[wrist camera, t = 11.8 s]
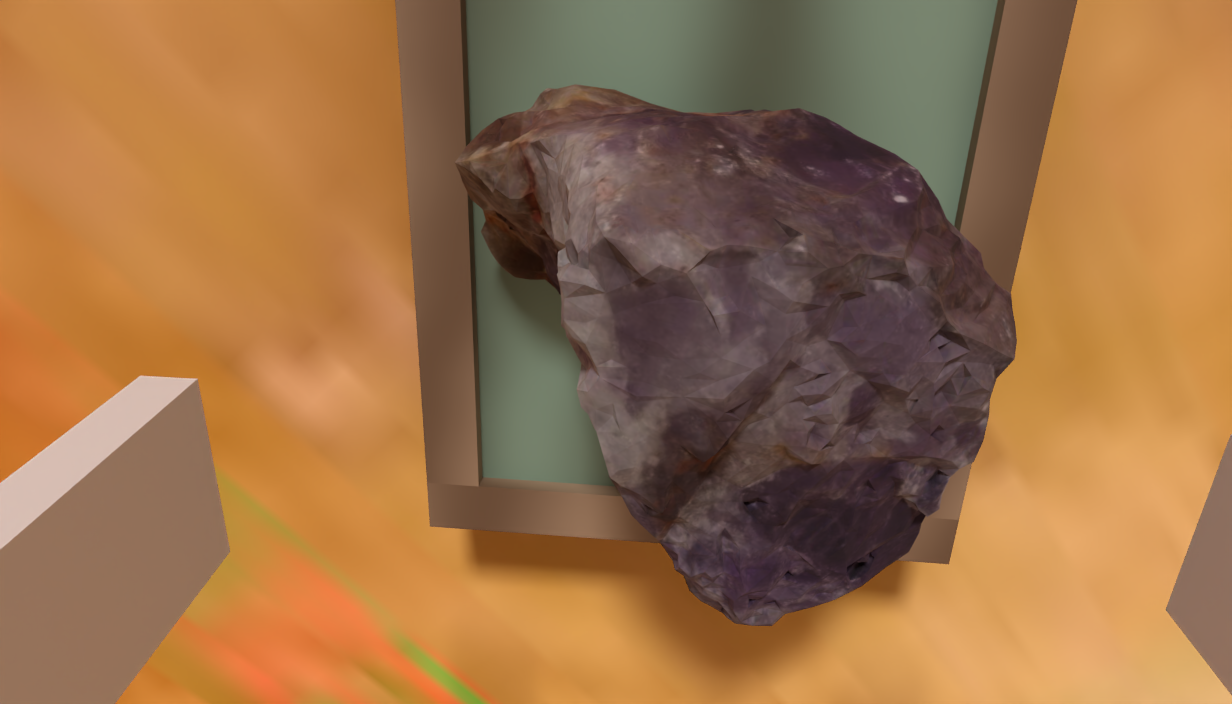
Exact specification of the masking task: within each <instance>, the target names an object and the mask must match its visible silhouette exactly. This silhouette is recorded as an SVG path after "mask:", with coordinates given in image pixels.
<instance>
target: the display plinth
mask: <svg viewBox="0 0 1232 704" xmlns="http://www.w3.org/2000/svg"><path fill="white" fill-rule="evenodd" d="M395 2H396V18H397V33H398V48H399V63H400V78H401V93H402V108H403V124H404V139H405V154H406V169H407V184H408V199H409V214H410V230H411V245H412V260H413V275H414V290H415V305H416V320H417V336H418V351H419V366H420V381H421V396H422V411H423V427H424V442H425V457H426V472H427V487H428V502H429V517H430V526H431V527H445V528H459V529H473V530H486V531H500V532H514V533H528V534H541V535H555V536H569V537H583V538H596V539H610V540H624V541H638V542H651V543H660V542H659V541H658V540H657V539H656V538H655V537H654V536H653V535H652V534H650V533H649V532H648V531H647V530H646V529H645V528H644V527H643V526H642V525H641V524H640V523H639V522H638V521H637V520H636V519H635V518H634V517H633V516H632V515H631V514H630V512H629V510H628V508H627V506H626V504H625V502H624V500H623V498H622V496H621V494H620V493H619V491H618V490H617V488H616V487H615V485H614V484H613V482H612V481H611V479H610V478H609V473H608V470H607V466H606V463H605V460H604V457H603V453H602V450H601V446H600V443H599V439H598V436H597V432H596V430H595V429H594V427H593V425H592V422H591V420H590V418H589V415H588V414H587V413H586V412H585V411H584V410H583V409H582V408H581V405H580V401H579V397H578V393H577V385H578V380H579V375H580V370H581V362H580V360H579V358H578V356H577V355H576V353H575V351H574V349H573V347H572V345H571V344H570V342H569V340H568V338H567V336H566V331H565V329H564V328H563V327H562V326H561V306H562V302H561V295H560V294H559V293H558V291H557V289H555V288H554V287H553V286H552V285H551V284H550V283H549V282H547V281H546V280H529V279H522V278H516V277H514V276H512V275H511V274H510V273H508V272H507V271H505V270H504V269H503V267H502V266H501V265H500V264H499V263H498V262H497V261H496V259H495V258H494V256H493V255H492V253H491V252H490V250H489V248H488V246H487V244H486V242H485V239H484V237H483V235H482V233H481V230H482V228H483V225H484V223H485V221H486V219H485V216H484V212H483V209H482V208H481V207H479V206H478V205H477V204H476V203H475V202H474V201H473V200H471V199H470V197H469V195H468V193H467V190H466V188H465V186H464V184H463V182H462V179H461V176H460V173H459V171H458V169H457V166H456V164H455V162H456V160H457V159H458V157H459V156H460V155H461V153H462V152H463V150H464V149H465V148H466V146H467V145H468V144H469V143H470V142H471V141H472V140H473V139H474V138H475V137H476V136H477V135H478V134H479V133H480V132H481V131H482V130H483V129H484V128H486V127H487V126H488V125H490V124H491V123H493V122H494V121H495V120H497V119H498V118H501V117H503V116H506V115H509V114H512V113H515V112H523V111H526V110H528V109H530V108H531V107H532V106H533V104H534V103H535V101H536V100H537V98H538V97H539V95H540V93H542V92H543V91H544V90H545V89H547V88H553V89H559V88H563V87H566V86H570V85H574V84H577V85H584V86H591V87H598V88H605V89H615V90H617V91H620V92H622V93H625V94H628V95H630V96H633V97H635V98H638V99H641V100H643V101H646V102H649V103H651V104H655V105H659V106H662V107H666V108H669V109H673V110H677V111H680V112H702V113H721V112H730V111H740V110H749V109H752V110H754V111H758V110H764V109H765V110H770V111H777V110H787V109H796V108H800V109H803V110H806V111H809V112H812V113H815V114H818V115H820V116H823V117H826V118H828V119H830V120H831V121H833V122H835V123H837V124H839V125H841V126H842V127H844V128H845V129H847V130H849V131H850V132H852V133H853V134H855V135H857V136H859V137H861V138H863V139H865V140H867V141H869V142H871V143H873V144H875V145H878V146H880V147H882V148H884V149H886V150H888V151H890V152H892V153H894V154H896V155H897V156H899V157H900V158H902V159H903V160H905V161H906V162H908V163H909V164H910V165H912V166H913V167H915V168H916V169H918V170H919V172H920V173H921V175H922V176H923V178H924V179H925V181H926V182H927V184H928V185H929V187H930V188H931V190H932V191H933V193H934V194H935V196H936V197H937V198H938V200H939V202H940V204H941V207H942V209H943V211H944V214H945V216H946V218H947V220H948V221H949V222H950V223H951V224H952V225H953V226H954V227H955V228H956V229H957V230H958V231H959V232H960V233H961V234H962V235H963V236H964V237H965V238H966V239H967V240H968V241H969V242H970V243H971V244H972V245H973V246H974V247H975V248H976V249H977V250H978V251H979V252H980V253H981V256H982V261H983V266H984V269H985V270H986V271H987V272H988V274H989V275H990V276H991V277H992V279H993V280H994V281H995V282H996V283H997V284H998V285H1000V286H1001V287H1003V288H1004V289H1005V290H1007V291H1008V292H1010V293H1011V289H1012V284H1013V280H1014V276H1015V271H1016V267H1017V263H1018V258H1019V254H1020V249H1021V245H1022V241H1023V236H1024V232H1025V227H1026V223H1027V219H1028V214H1029V210H1030V205H1031V201H1032V197H1033V192H1034V188H1035V183H1036V179H1037V175H1038V170H1039V166H1040V162H1041V157H1042V153H1043V148H1044V144H1045V140H1046V135H1047V131H1048V126H1049V122H1050V118H1051V113H1052V109H1053V104H1054V100H1055V96H1056V91H1057V87H1058V83H1059V78H1060V74H1061V69H1062V65H1063V61H1064V56H1065V52H1066V47H1067V43H1068V39H1069V34H1070V30H1071V25H1072V21H1073V17H1074V12H1075V8H1076V4H1077V0H395ZM971 464H972V463H970V464H968V465H966V466H964V467H962V468H960V469H959V470H958V471H957V472H955V473H954V474H953V475H952V476H951V477H950V479H949V481H948V483H947V486H946V488H945V490H944V492H943V494H942V498H941V503H940V509H939V510H937V511H936V512H934V513H933V514H931V515H930V516H928V517H927V516H925V518H924V520H923V522H922V524H921V528H920V532H919V534H918V536H917V538H916V540H915V542H914V544H913V545H912V547H911V549H910V551H909V552H908V553H907V554H905V555H904V556H902V557H901V558H899V559H898V560H899V561H913V562H927V563H940V564H949V561H950V557H951V552H952V548H953V543H954V539H955V535H956V530H957V526H958V521H959V517H960V513H961V508H962V504H963V500H964V495H965V491H966V486H967V482H968V478H969V473H970V469H971Z"/></svg>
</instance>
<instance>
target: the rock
mask: <svg viewBox="0 0 1232 704" xmlns="http://www.w3.org/2000/svg"><path fill="white" fill-rule="evenodd" d="M455 164H456V166H457V169H458V171H459V173H460V176H461V179H462V182H463V184H464V186H465V188H466V190H467V193H468V195H469V197H470V199H471V200H473V201H474V202H475V203H476V204H477V205H478V206H479V207H481V208H482V209H483V212H484V216H485V219H486V221H485V223H484V225H483V228H482V230H481V233H482V235H483V237H484V239H485V242H486V244H487V246H488V248H489V250H490V252H491V253H492V255H493V256H494V258H495V259H496V261H497V262H498V263H499V264H500V265H501V266H502V267H503V269H504V270H505V271H507V272H508V273H510V274H511V275H512V276H514V277H516V278H522V279H529V280H546V281H547V282H549V283H550V284H551V285H552V286H553V287H554V288H555V289H557V291H558V293H559V294H560V295H561V302H562V306H561V326H562V327H563V328H564V329H565V331H566V336H567V338H568V340H569V342H570V344H571V345H572V347H573V349H574V351H575V353H576V355H577V356H578V358H579V360H580V362H581V370H580V375H579V380H578V385H577V393H578V397H579V401H580V405H581V408H582V409H583V410H584V411H585V412H586V413H587V414H588V415H589V418H590V420H591V422H592V425H593V427H594V429H595V430H596V432H597V436H598V439H599V443H600V446H601V450H602V453H603V457H604V460H605V463H606V466H607V470H608V473H609V478H610V479H611V481H612V482H613V484H614V485H615V487H616V488H617V490H618V491H619V493H620V494H621V496H622V498H623V500H624V502H625V504H626V506H627V508H628V510H629V512H630V514H631V515H632V516H633V517H634V518H635V519H636V520H637V521H638V522H639V523H640V524H641V525H642V526H643V527H644V528H645V529H646V530H647V531H648V532H649V533H650V534H652V535H653V536H654V537H655V538H656V539H657V540H658V541H659V542H660V543H661V545H662V546H663V547H664V548H665V550H666V551H667V553H668V555H669V556H670V557H671V559H672V560H673V563H674V568H675V570H676V571H678V572H679V573H681V574H682V575H684V578H685V580H686V583H687V585H688V587H689V590H690V591H691V592H692V593H693V594H694V595H695V596H696V597H697V598H698V599H699V600H700V601H702V602H704V603H706V604H708V605H710V606H711V607H713V608H715V609H717V610H718V611H720V612H722V613H724V615H725V616H726V617H727V618H729V619H730V620H731V621H733V622H734V623H736V624H744V625H752V626H772V625H773V624H775V623H776V622H777V621H778V620H779V619H780V618H781V617H782V616H783V615H784V614H787V613H791V612H795V611H799V610H803V609H807V608H811V607H814V606H817V605H820V604H823V603H826V602H829V601H832V600H835V599H837V598H839V597H841V596H843V595H845V594H847V593H849V592H851V591H853V590H855V589H857V588H859V587H861V586H862V585H864V584H865V583H866V582H867V581H869V580H870V579H871V578H873V577H874V576H875V575H876V574H878V573H879V572H880V571H881V570H883V569H884V568H885V567H887V566H888V565H890V564H891V563H893V562H895V561H896V560H898V559H899V558H901V557H902V556H904V555H905V554H907V553H908V552H909V551H910V549H911V547H912V545H913V544H914V542H915V540H916V538H917V536H918V534H919V532H920V528H921V524H922V522H923V520H924V518H925V516H927V517H928V516H930V515H931V514H933V513H934V512H936V511H937V510H939V509H940V503H941V498H942V494H943V492H944V490H945V488H946V486H947V483H948V481H949V479H950V477H951V476H952V475H953V474H954V473H955V472H957V471H958V470H959V469H960V468H962V467H964V466H966V465H968V464H970V463H972V462H974V460H975V458H976V456H977V453H978V451H979V449H980V447H981V444H982V442H983V439H984V435H985V430H986V426H987V421H988V417H989V404H990V397H991V394H992V391H993V388H994V384H995V381H996V378H997V377H998V376H999V375H1000V374H1001V373H1002V372H1003V371H1004V370H1005V369H1006V368H1007V366H1008V365H1009V364H1010V363H1011V362H1012V361H1013V360H1014V357H1015V350H1016V343H1017V339H1016V329H1015V321H1014V316H1013V311H1012V300H1011V293H1010V292H1008V291H1007V290H1005V289H1004V288H1003V287H1001V286H1000V285H998V284H997V283H996V282H995V281H994V280H993V279H992V277H991V276H990V275H989V274H988V272H987V271H986V270H985V269H984V266H983V261H982V256H981V253H980V252H979V251H978V250H977V249H976V248H975V247H974V246H973V245H972V244H971V243H970V242H969V241H968V240H967V239H966V238H965V237H964V236H963V235H962V234H961V233H960V232H959V231H958V230H957V229H956V228H955V227H954V226H953V225H952V224H951V223H950V222H949V221H948V220H947V218H946V216H945V214H944V211H943V209H942V207H941V204H940V202H939V200H938V198H937V197H936V196H935V194H934V193H933V191H932V190H931V188H930V187H929V185H928V184H927V182H926V181H925V179H924V178H923V176H922V175H921V173H920V172H919V170H918V169H916V168H915V167H913V166H912V165H910V164H909V163H908V162H906V161H905V160H903V159H902V158H900V157H899V156H897V155H896V154H894V153H892V152H890V151H888V150H886V149H884V148H882V147H880V146H878V145H875V144H873V143H871V142H869V141H867V140H865V139H863V138H861V137H859V136H857V135H855V134H853V133H852V132H850V131H849V130H847V129H845V128H844V127H842V126H841V125H839V124H837V123H835V122H833V121H831V120H830V119H828V118H826V117H823V116H820V115H818V114H815V113H812V112H809V111H806V110H803V109H800V108H796V109H787V110H777V111H770V110H765V109H764V110H758V111H754V110H752V109H749V110H740V111H730V112H721V113H702V112H680V111H677V110H673V109H669V108H666V107H662V106H659V105H655V104H651V103H649V102H646V101H643V100H641V99H638V98H635V97H633V96H630V95H628V94H625V93H622V92H620V91H617V90H615V89H605V88H598V87H591V86H584V85H577V84H574V85H570V86H566V87H563V88H559V89H553V88H547V89H545V90H544V91H543V92H542V93H540V95H539V97H538V98H537V100H536V101H535V103H534V104H533V106H532V107H531V108H530V109H528V110H526V111H523V112H515V113H512V114H509V115H506V116H503V117H501V118H498V119H497V120H495V121H494V122H493V123H491V124H490V125H488V126H487V127H486V128H484V129H483V130H482V131H481V132H480V133H479V134H478V135H477V136H476V137H475V138H474V139H473V140H472V141H471V142H470V143H469V144H468V145H467V146H466V148H465V149H464V150H463V152H462V153H461V155H460V156H459V157H458V159H457V160H456V162H455Z"/></svg>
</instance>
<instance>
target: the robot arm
mask: <svg viewBox="0 0 1232 704" xmlns="http://www.w3.org/2000/svg"><path fill="white" fill-rule="evenodd" d="M229 552H230V548H229V543H228V538H227V532H226V527H225V522H224V516H223V511H222V506H221V501H220V495H219V490H218V485H217V479H216V474H215V469H214V464H213V458H212V453H211V448H210V442H209V437H208V432H207V427H206V421H205V416H204V411H203V405H202V400H201V395H200V389H199V384H198V379H191V378H172V377H154V376H139V377H138V378H137V379H135V380H134V381H133V382H131V383H130V384H129V385H128V386H126V387H125V388H124V389H122V390H121V391H120V392H118V393H117V394H116V395H114V396H113V397H112V398H111V399H109V400H108V401H107V402H105V403H104V404H103V405H101V406H100V407H99V408H98V409H96V410H95V411H94V412H92V413H91V414H90V415H88V416H87V417H86V418H84V419H83V420H82V421H81V422H79V423H78V424H77V425H75V426H74V427H73V428H71V429H70V430H69V431H67V432H66V433H65V434H64V435H62V436H61V437H60V438H58V439H57V440H56V441H54V442H53V443H52V444H51V445H49V446H48V447H47V448H45V449H44V450H43V451H41V452H40V453H39V454H37V455H36V456H35V457H34V458H32V459H31V460H30V461H28V462H27V463H26V464H24V465H23V466H22V467H21V468H19V469H18V470H17V471H15V472H14V473H13V474H11V475H10V476H9V477H7V478H6V479H5V480H4V481H2V482H1V483H0V704H115V703H116V702H117V700H118V699H119V698H120V696H121V695H122V694H123V692H124V691H125V690H126V688H127V687H128V686H129V684H130V683H131V682H132V680H133V679H134V678H135V676H136V675H137V674H138V672H139V671H140V670H141V669H142V667H143V666H144V665H145V663H146V662H147V661H148V659H149V658H150V657H151V655H152V654H153V653H154V651H155V650H156V649H157V647H158V646H159V645H160V643H161V642H162V641H163V639H164V638H165V637H166V635H167V634H168V633H169V632H170V630H171V629H172V628H173V626H174V625H175V624H176V622H177V621H178V620H179V618H180V617H181V616H182V614H183V613H184V612H185V610H186V609H187V608H188V606H189V605H190V604H191V602H192V601H193V600H194V598H195V597H196V596H197V595H198V593H199V592H200V591H201V589H202V588H203V587H204V585H205V584H206V583H207V581H208V580H209V579H210V577H211V576H212V575H213V573H214V572H215V571H216V569H217V568H218V567H219V565H220V564H221V563H222V561H223V560H224V559H225V558H226V556H227V555H228V554H229ZM1166 611H1167V612H1168V613H1169V615H1170V616H1171V617H1172V619H1173V620H1174V621H1175V622H1176V624H1177V625H1178V626H1179V628H1180V629H1181V630H1182V631H1183V633H1184V634H1185V635H1186V637H1187V638H1188V639H1189V641H1190V642H1191V643H1192V644H1193V646H1194V647H1195V648H1196V650H1197V651H1198V652H1199V653H1200V655H1201V656H1202V657H1203V659H1204V660H1205V661H1206V662H1207V664H1208V665H1209V666H1210V668H1211V669H1212V670H1213V672H1214V673H1215V674H1216V675H1217V677H1218V678H1219V679H1220V681H1221V682H1222V683H1223V684H1224V686H1225V687H1226V688H1227V690H1228V691H1229V692H1230V693H1231V695H1232V435H1230V438H1229V441H1228V443H1227V446H1226V449H1225V452H1224V454H1223V457H1222V460H1221V462H1220V465H1219V468H1218V470H1217V473H1216V476H1215V478H1214V481H1213V484H1212V486H1211V489H1210V492H1209V494H1208V497H1207V500H1206V503H1205V505H1204V508H1203V511H1202V513H1201V516H1200V519H1199V521H1198V524H1197V527H1196V529H1195V532H1194V535H1193V537H1192V540H1191V543H1190V545H1189V548H1188V551H1187V554H1186V556H1185V559H1184V562H1183V564H1182V567H1181V570H1180V572H1179V575H1178V578H1177V580H1176V583H1175V586H1174V588H1173V591H1172V594H1171V596H1170V599H1169V602H1168V605H1167V607H1166Z"/></svg>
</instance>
